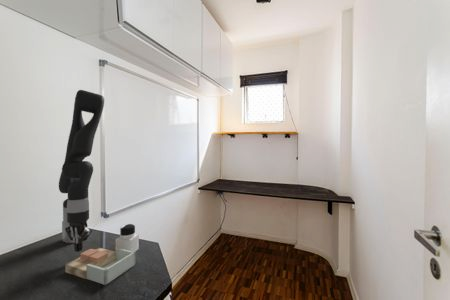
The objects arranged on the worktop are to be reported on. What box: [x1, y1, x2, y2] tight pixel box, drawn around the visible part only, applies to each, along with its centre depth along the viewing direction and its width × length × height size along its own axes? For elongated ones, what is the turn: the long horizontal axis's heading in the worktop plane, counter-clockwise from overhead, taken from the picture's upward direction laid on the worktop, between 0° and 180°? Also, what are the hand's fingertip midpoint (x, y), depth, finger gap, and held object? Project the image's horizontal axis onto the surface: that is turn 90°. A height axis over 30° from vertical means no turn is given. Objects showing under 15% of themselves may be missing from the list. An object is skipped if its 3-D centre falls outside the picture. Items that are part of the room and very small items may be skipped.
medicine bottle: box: [115, 223, 140, 253], centre depth 94 cm, size 7×7×12 cm
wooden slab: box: [64, 247, 116, 280], centre depth 83 cm, size 11×14×3 cm
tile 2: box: [89, 251, 108, 264], centre depth 82 cm, size 4×4×2 cm
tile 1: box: [79, 248, 99, 261], centre depth 84 cm, size 4×4×2 cm
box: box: [85, 248, 136, 286], centre depth 80 cm, size 9×14×5 cm
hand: (78, 250), depth 87 cm, fingers closed
